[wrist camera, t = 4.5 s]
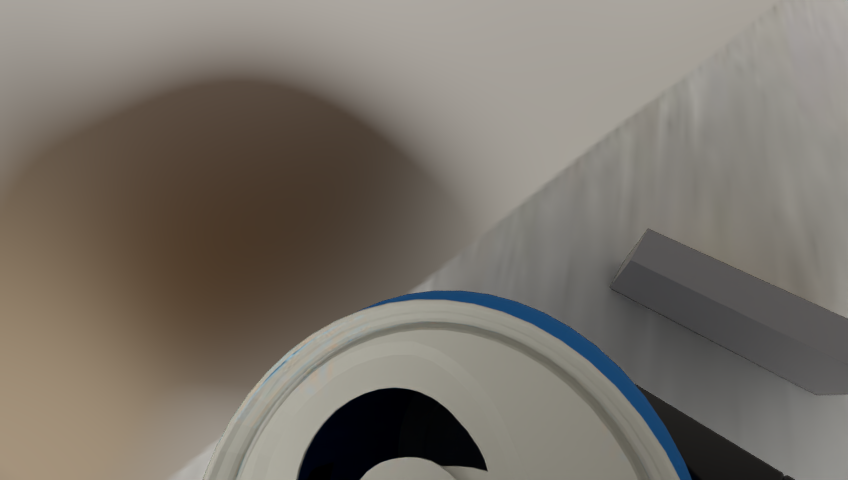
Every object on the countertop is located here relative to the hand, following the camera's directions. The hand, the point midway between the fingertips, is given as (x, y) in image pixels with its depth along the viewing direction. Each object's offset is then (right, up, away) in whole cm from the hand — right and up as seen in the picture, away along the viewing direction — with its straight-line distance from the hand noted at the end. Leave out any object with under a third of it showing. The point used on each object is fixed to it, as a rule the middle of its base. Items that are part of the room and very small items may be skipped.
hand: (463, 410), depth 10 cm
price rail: (+9, +1, +5) cm, 11 cm away
